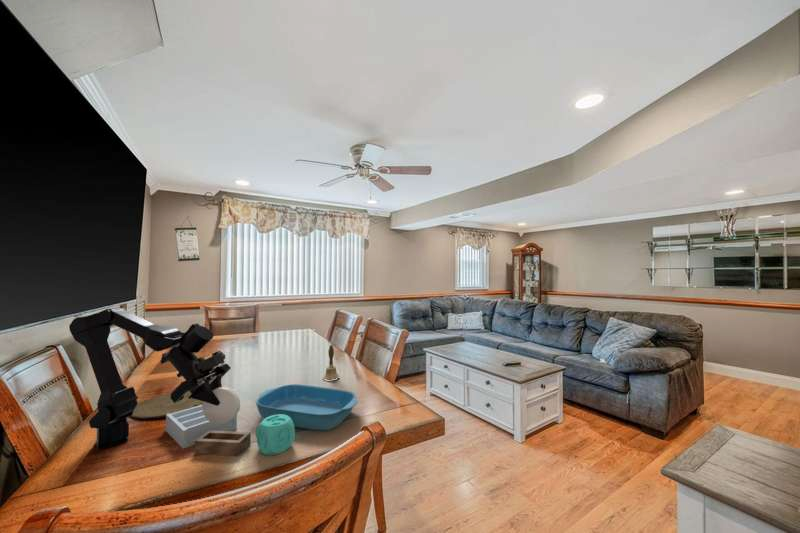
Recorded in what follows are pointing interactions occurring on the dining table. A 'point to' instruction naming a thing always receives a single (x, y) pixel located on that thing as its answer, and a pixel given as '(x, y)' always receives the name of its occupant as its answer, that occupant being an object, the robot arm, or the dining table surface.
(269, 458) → the dining table surface
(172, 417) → the rack
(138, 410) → the decorative disc
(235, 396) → the plate
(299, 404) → the casserole dish
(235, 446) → the stand
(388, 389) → the dining table surface
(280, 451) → the decorative dice
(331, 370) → the hand bell
